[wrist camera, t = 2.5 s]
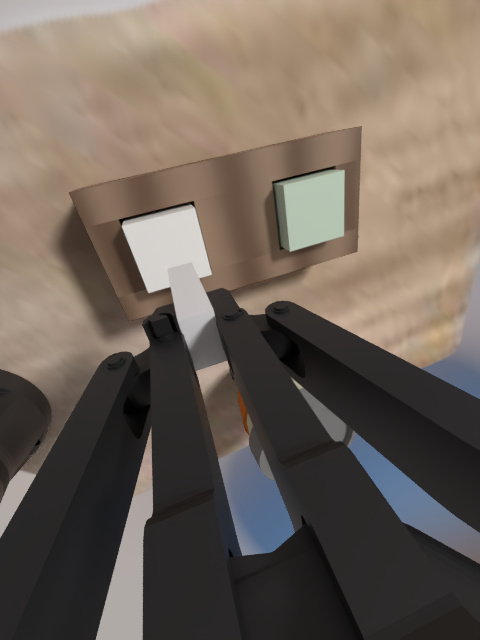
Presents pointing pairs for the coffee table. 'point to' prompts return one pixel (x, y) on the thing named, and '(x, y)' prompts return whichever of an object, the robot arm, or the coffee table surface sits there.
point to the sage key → (309, 208)
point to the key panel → (222, 214)
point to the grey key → (166, 243)
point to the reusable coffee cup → (326, 417)
